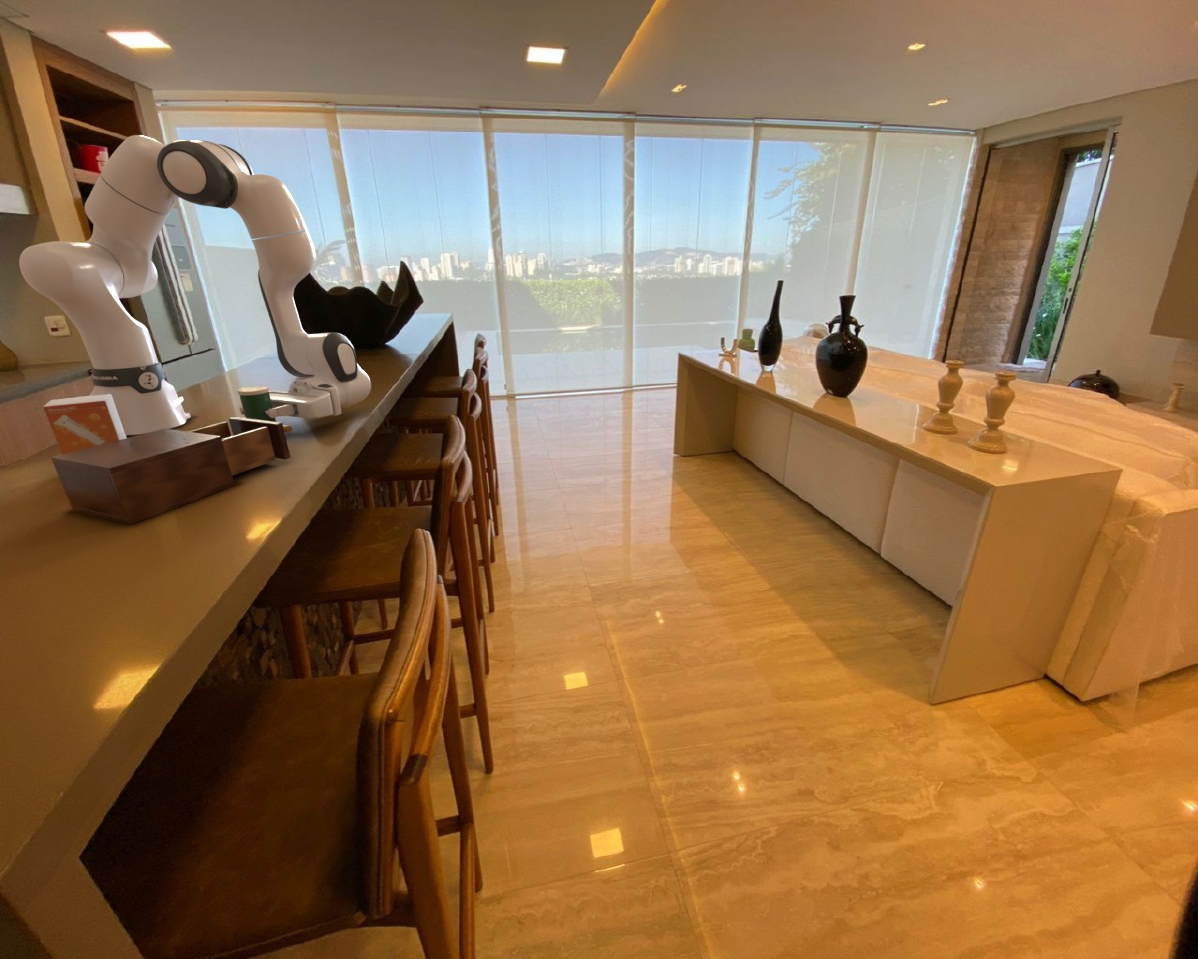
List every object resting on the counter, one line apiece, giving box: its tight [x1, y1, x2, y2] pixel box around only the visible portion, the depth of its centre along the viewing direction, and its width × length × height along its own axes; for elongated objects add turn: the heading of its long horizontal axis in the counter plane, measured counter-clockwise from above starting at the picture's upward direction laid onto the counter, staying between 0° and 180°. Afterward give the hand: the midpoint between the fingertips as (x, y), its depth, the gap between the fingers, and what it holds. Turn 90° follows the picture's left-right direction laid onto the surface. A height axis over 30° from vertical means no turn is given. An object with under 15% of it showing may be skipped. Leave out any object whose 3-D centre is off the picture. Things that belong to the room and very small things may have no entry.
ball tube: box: [237, 385, 277, 422], centre depth 110 cm, size 5×5×11 cm
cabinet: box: [50, 428, 236, 525], centre depth 82 cm, size 16×14×9 cm
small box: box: [42, 394, 127, 455], centre depth 94 cm, size 8×6×13 cm
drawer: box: [186, 416, 293, 477], centre depth 95 cm, size 19×12×7 cm, turn 159°
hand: (254, 412), depth 109 cm, fingers open, 6 cm apart
